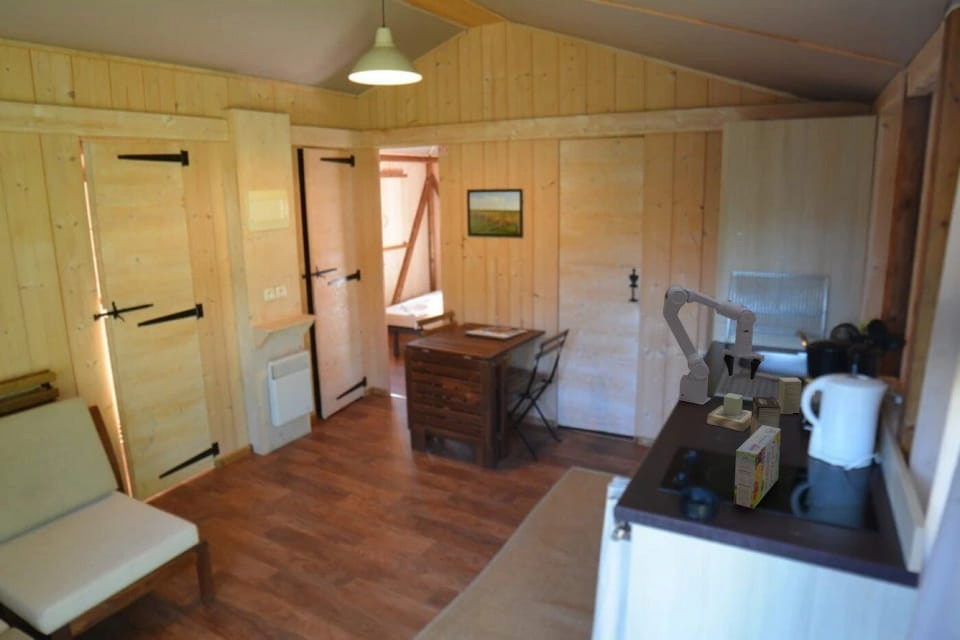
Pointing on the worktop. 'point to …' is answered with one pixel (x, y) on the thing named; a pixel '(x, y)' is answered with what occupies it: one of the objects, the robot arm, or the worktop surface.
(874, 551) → the worktop surface
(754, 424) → the coffee box
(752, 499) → the snack box
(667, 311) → the robot arm
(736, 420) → the base block
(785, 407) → the skincare box
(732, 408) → the green block
